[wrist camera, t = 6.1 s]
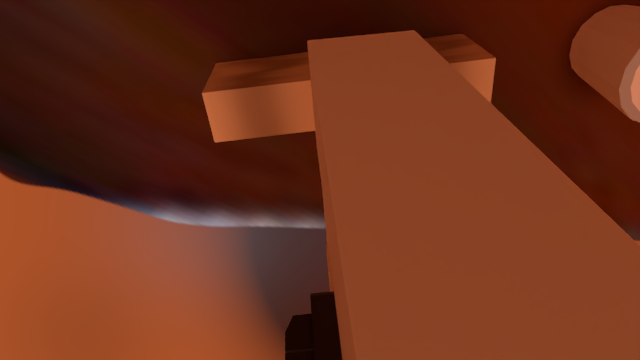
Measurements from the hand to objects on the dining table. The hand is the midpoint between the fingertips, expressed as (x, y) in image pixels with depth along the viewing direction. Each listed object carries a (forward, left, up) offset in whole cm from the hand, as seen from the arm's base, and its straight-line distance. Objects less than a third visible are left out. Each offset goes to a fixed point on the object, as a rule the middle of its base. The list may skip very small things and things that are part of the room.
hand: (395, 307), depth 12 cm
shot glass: (-20, -6, -24) cm, 32 cm away
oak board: (-1, +1, -23) cm, 23 cm away
